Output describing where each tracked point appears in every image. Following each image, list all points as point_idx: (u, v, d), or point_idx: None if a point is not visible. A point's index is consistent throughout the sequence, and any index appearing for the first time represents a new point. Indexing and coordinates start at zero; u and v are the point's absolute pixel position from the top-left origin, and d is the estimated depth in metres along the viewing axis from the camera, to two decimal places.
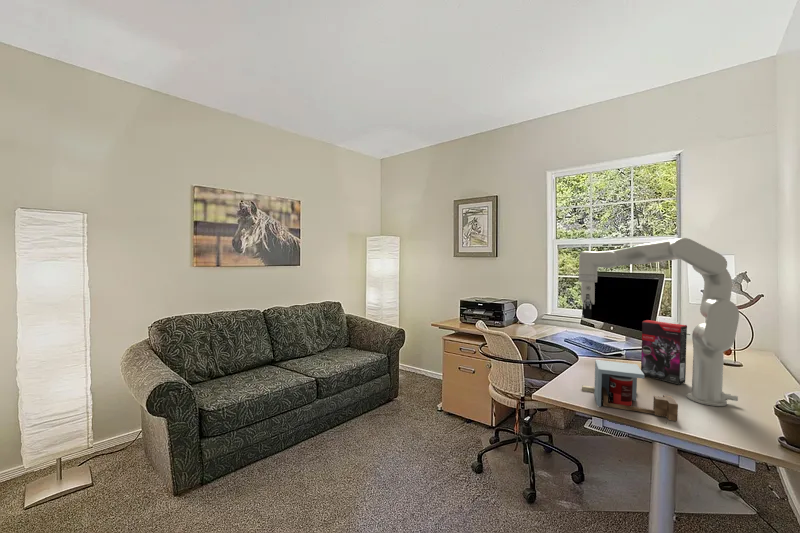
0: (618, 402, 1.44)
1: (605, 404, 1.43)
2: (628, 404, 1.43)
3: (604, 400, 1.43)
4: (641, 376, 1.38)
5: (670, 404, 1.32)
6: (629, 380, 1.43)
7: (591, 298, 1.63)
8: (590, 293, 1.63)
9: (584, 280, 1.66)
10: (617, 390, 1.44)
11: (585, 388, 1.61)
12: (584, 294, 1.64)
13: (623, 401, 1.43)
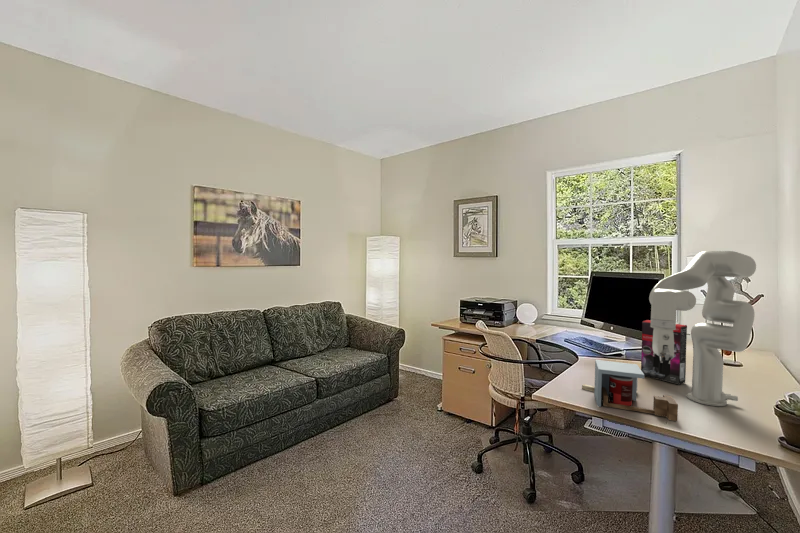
0: (618, 402, 1.44)
1: (605, 404, 1.43)
2: (628, 404, 1.43)
3: (604, 400, 1.43)
4: (641, 376, 1.38)
5: (670, 404, 1.32)
6: (629, 380, 1.43)
7: (669, 349, 1.31)
8: (669, 344, 1.31)
9: (660, 327, 1.33)
10: (617, 390, 1.44)
11: (585, 387, 1.62)
12: (660, 344, 1.32)
13: (623, 401, 1.43)
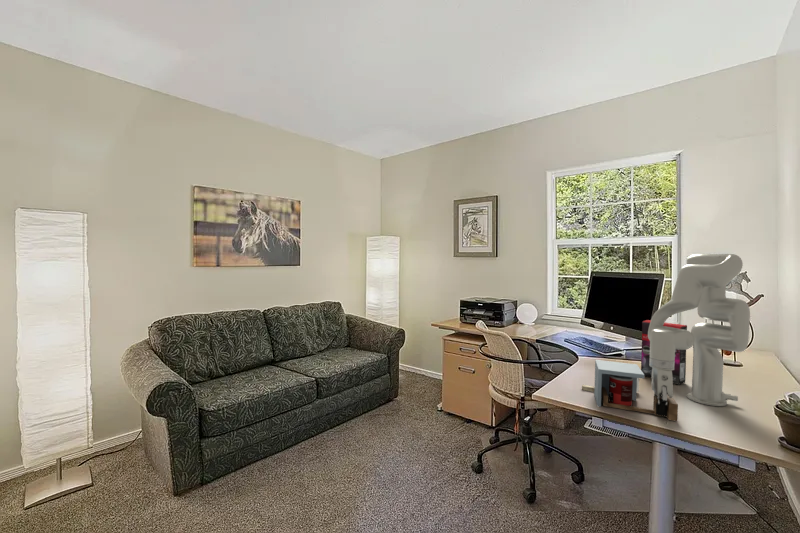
0: (618, 402, 1.44)
1: (605, 404, 1.43)
2: (628, 404, 1.43)
3: (604, 400, 1.43)
4: (641, 376, 1.38)
5: (670, 404, 1.32)
6: (629, 380, 1.43)
7: (668, 390, 1.31)
8: (667, 384, 1.31)
9: (659, 367, 1.34)
10: (617, 390, 1.44)
11: (585, 387, 1.61)
12: (659, 385, 1.33)
13: (623, 401, 1.43)
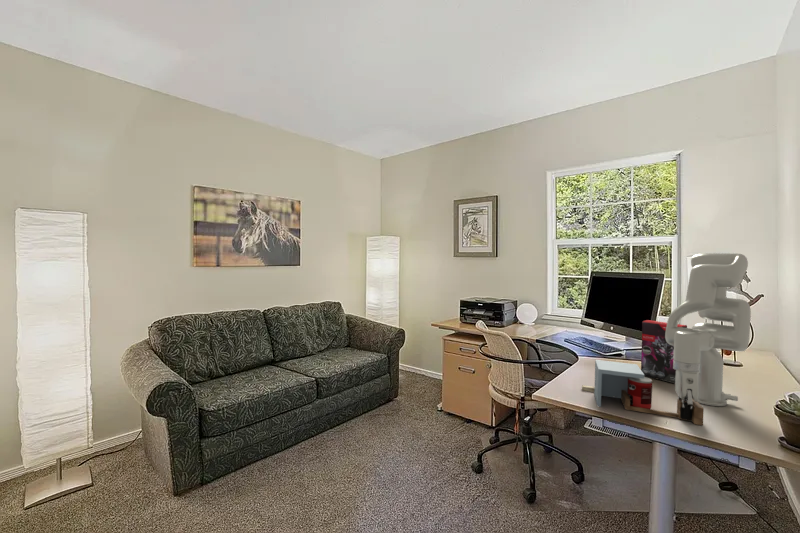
0: (638, 405, 1.41)
1: (627, 407, 1.40)
2: (648, 407, 1.41)
3: (626, 403, 1.41)
4: (641, 376, 1.38)
5: (695, 408, 1.29)
6: (649, 382, 1.40)
7: (694, 394, 1.28)
8: (693, 388, 1.29)
9: (683, 370, 1.31)
10: (636, 393, 1.42)
11: (585, 388, 1.61)
12: (684, 388, 1.30)
13: (643, 404, 1.40)
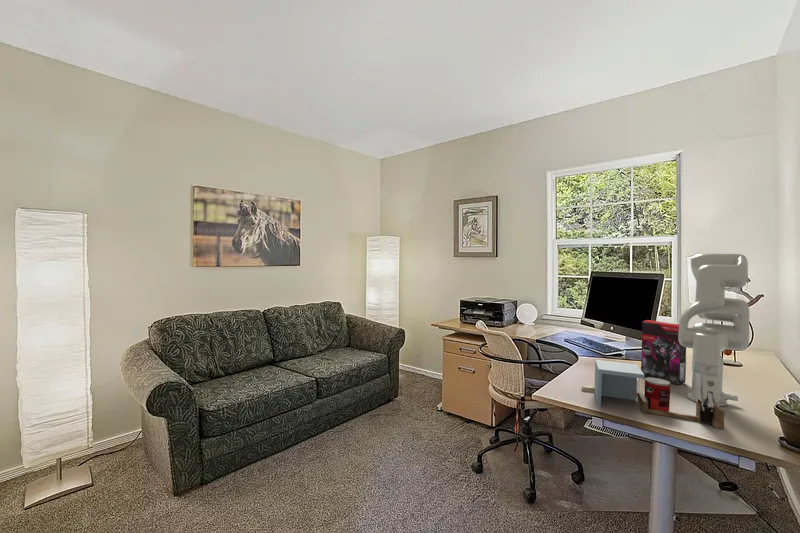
0: (656, 408, 1.39)
1: (645, 410, 1.38)
2: (666, 409, 1.38)
3: (644, 406, 1.38)
4: (641, 376, 1.38)
5: (716, 411, 1.26)
6: (667, 385, 1.38)
7: (714, 396, 1.26)
8: (713, 390, 1.26)
9: (703, 372, 1.29)
10: (654, 395, 1.39)
11: (585, 388, 1.60)
12: (705, 391, 1.27)
13: (661, 407, 1.38)
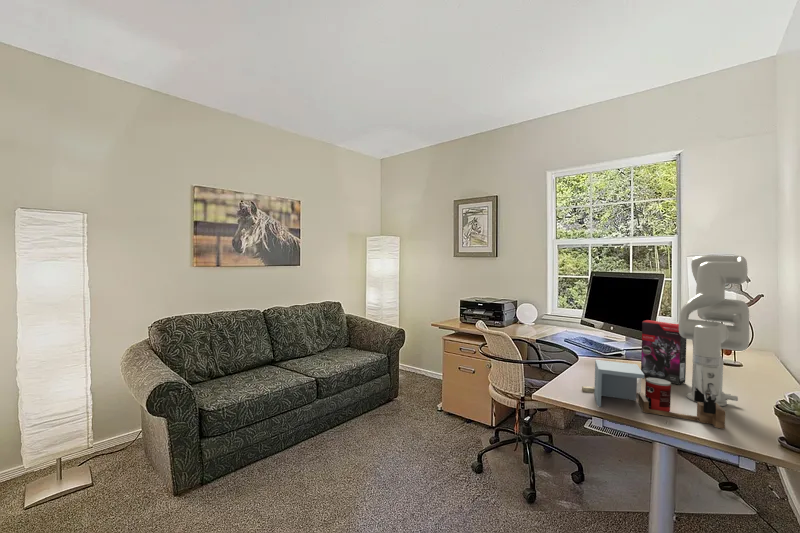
0: (657, 408, 1.39)
1: (645, 410, 1.38)
2: (667, 410, 1.38)
3: (644, 406, 1.38)
4: (641, 376, 1.38)
5: (717, 411, 1.26)
6: (668, 385, 1.38)
7: (715, 388, 1.27)
8: (714, 382, 1.27)
9: (704, 364, 1.29)
10: (655, 396, 1.39)
11: (586, 389, 1.59)
12: (705, 383, 1.28)
13: (662, 407, 1.38)
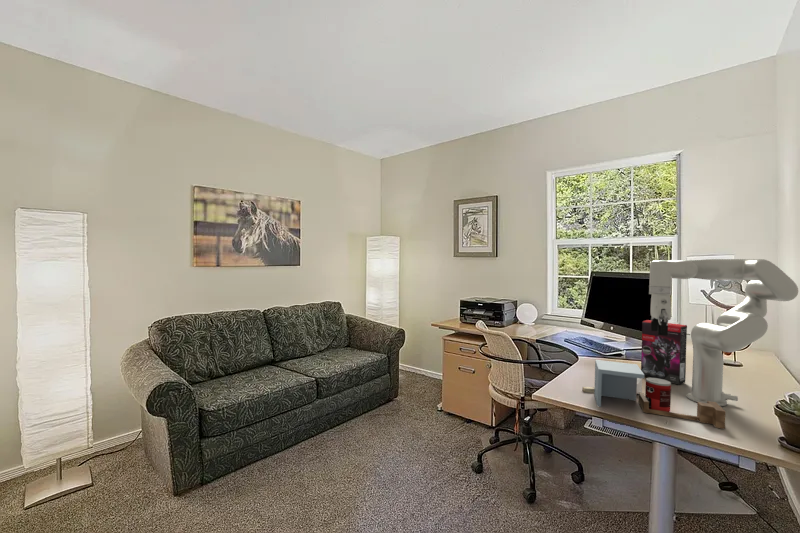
0: (657, 408, 1.39)
1: (646, 410, 1.38)
2: (667, 410, 1.38)
3: (644, 406, 1.38)
4: (641, 376, 1.38)
5: (717, 411, 1.26)
6: (668, 385, 1.38)
7: (667, 313, 1.46)
8: (666, 307, 1.46)
9: (658, 293, 1.48)
10: (655, 396, 1.39)
11: (587, 389, 1.59)
12: (659, 309, 1.47)
13: (662, 407, 1.38)
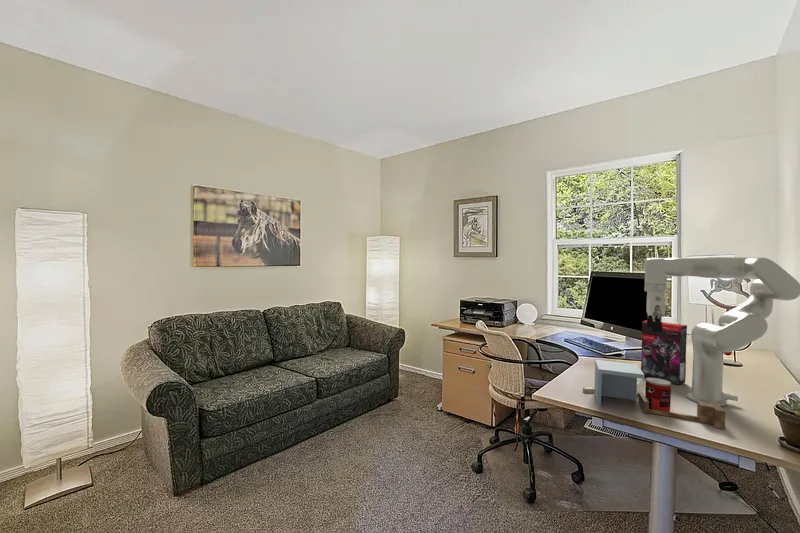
0: (657, 408, 1.39)
1: (646, 410, 1.38)
2: (667, 410, 1.38)
3: (644, 406, 1.38)
4: (641, 376, 1.38)
5: (717, 411, 1.26)
6: (668, 385, 1.38)
7: (661, 309, 1.48)
8: (660, 304, 1.48)
9: (652, 290, 1.51)
10: (655, 396, 1.39)
11: (588, 390, 1.58)
12: (653, 305, 1.49)
13: (662, 407, 1.38)
